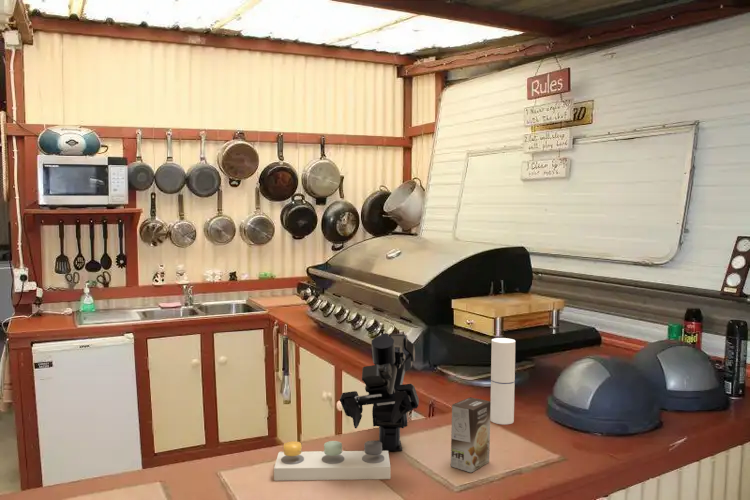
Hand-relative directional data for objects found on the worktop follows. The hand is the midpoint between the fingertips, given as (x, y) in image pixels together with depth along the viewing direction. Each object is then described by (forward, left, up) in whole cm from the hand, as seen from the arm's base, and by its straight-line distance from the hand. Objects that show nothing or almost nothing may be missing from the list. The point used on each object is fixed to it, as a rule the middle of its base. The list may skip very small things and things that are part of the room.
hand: (373, 424), depth 144 cm
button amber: (-9, -20, -11) cm, 24 cm away
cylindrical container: (-44, +41, -15) cm, 63 cm away
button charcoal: (-9, 0, -11) cm, 14 cm away
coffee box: (-12, +25, -15) cm, 32 cm away
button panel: (-9, -10, -15) cm, 20 cm away
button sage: (-9, -10, -11) cm, 17 cm away
